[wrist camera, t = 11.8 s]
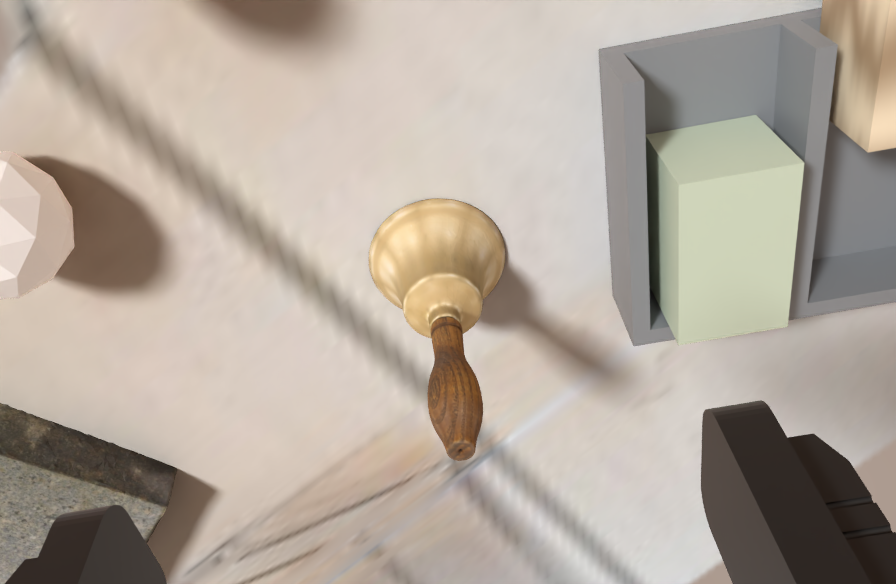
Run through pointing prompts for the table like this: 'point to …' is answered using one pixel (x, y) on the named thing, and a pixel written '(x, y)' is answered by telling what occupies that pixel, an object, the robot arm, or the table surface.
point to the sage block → (722, 227)
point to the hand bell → (442, 299)
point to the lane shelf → (789, 116)
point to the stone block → (68, 483)
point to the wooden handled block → (863, 70)
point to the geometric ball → (31, 226)
